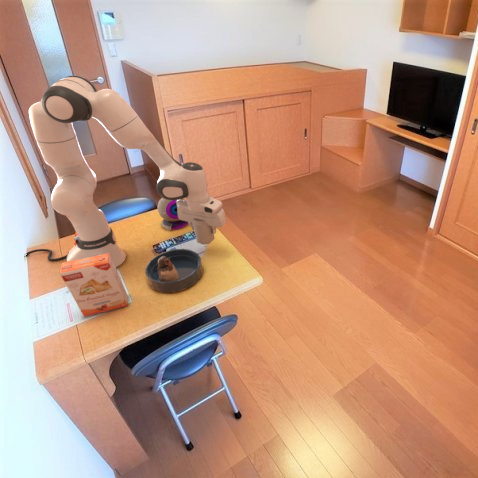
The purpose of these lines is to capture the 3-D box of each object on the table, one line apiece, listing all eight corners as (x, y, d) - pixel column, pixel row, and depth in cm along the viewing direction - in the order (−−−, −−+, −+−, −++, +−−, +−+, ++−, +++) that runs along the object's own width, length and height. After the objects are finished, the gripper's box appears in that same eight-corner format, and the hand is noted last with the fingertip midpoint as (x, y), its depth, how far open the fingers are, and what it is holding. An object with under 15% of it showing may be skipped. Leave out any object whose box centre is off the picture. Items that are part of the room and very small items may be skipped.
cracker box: (84, 318, 122) (58, 273, 109) (85, 306, 126) (61, 261, 114) (128, 306, 126) (108, 262, 114) (128, 295, 131) (109, 251, 118)
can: (210, 246, 146) (205, 223, 139) (193, 244, 148) (188, 220, 140) (217, 236, 152) (214, 213, 145) (201, 234, 153) (197, 210, 146)
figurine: (170, 272, 140) (162, 249, 133) (184, 278, 138) (177, 254, 131) (156, 284, 135) (148, 260, 128) (170, 289, 133) (162, 265, 126)
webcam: (168, 233, 163) (160, 205, 154) (158, 221, 171) (149, 194, 162) (195, 223, 170) (188, 196, 161) (184, 212, 177) (177, 186, 169)
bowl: (148, 299, 130) (144, 288, 126) (150, 264, 145) (146, 254, 142) (205, 286, 135) (202, 276, 132) (201, 255, 151) (198, 244, 147)
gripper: (171, 202, 139) (178, 231, 147) (218, 210, 135) (222, 239, 143) (180, 194, 144) (186, 223, 152) (225, 202, 140) (229, 231, 148)
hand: (204, 231), depth 147 cm, fingers closed on can, 7 cm apart
